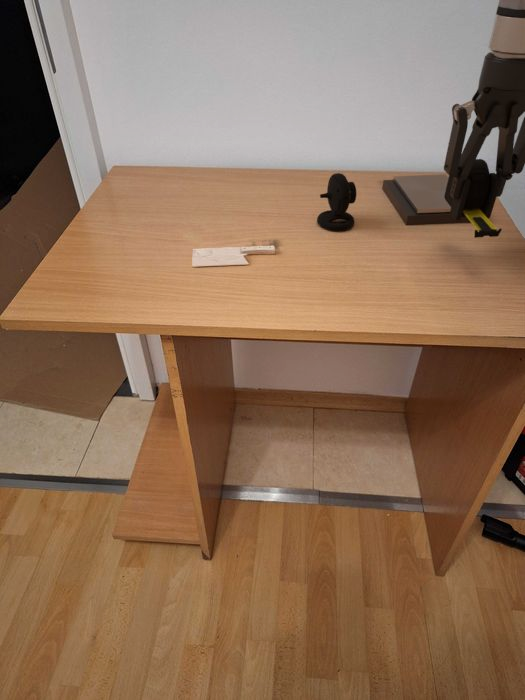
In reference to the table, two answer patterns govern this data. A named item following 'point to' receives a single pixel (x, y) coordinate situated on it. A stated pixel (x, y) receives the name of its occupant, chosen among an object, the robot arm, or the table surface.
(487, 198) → the robot arm
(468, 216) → the tape measure
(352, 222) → the webcam
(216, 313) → the table surface
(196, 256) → the toy cleaver knife
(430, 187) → the pan
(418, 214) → the scale base
